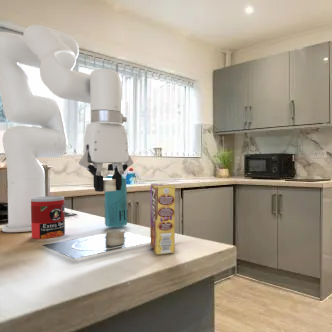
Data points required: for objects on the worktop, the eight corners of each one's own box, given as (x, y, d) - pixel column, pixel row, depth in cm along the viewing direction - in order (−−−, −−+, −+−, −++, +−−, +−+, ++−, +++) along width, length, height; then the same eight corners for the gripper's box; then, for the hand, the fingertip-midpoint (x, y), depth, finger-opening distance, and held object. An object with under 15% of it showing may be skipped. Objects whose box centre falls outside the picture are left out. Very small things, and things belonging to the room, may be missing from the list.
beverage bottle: (119, 232, 95) (118, 163, 94) (99, 231, 96) (98, 163, 96) (132, 227, 101) (131, 163, 101) (113, 227, 102) (112, 163, 102)
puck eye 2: (103, 243, 78) (103, 231, 78) (119, 240, 81) (118, 228, 81) (111, 246, 76) (111, 233, 75) (127, 243, 79) (127, 230, 79)
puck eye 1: (96, 191, 84) (96, 179, 84) (110, 189, 87) (110, 178, 87) (104, 191, 81) (104, 179, 81) (119, 190, 85) (119, 179, 84)
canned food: (40, 243, 82) (40, 199, 82) (25, 239, 87) (24, 198, 86) (71, 237, 89) (70, 196, 89) (55, 233, 93) (54, 195, 93)
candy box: (176, 253, 72) (175, 184, 72) (156, 255, 71) (155, 185, 70) (168, 244, 80) (167, 182, 80) (149, 246, 79) (149, 183, 78)
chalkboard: (41, 248, 78) (41, 244, 78) (120, 233, 93) (120, 230, 93) (74, 262, 66) (74, 258, 66) (158, 243, 82) (158, 239, 82)
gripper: (128, 123, 93) (129, 187, 93) (66, 117, 80) (67, 192, 80) (143, 121, 88) (144, 189, 88) (79, 114, 75) (81, 194, 75)
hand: (108, 189), depth 84 cm, fingers closed on puck eye 1, 4 cm apart
